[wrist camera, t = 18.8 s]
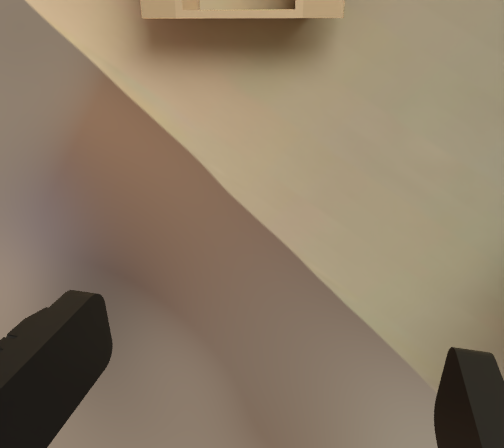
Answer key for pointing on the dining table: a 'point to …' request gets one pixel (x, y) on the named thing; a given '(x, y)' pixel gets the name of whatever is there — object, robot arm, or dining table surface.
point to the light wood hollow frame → (187, 7)
